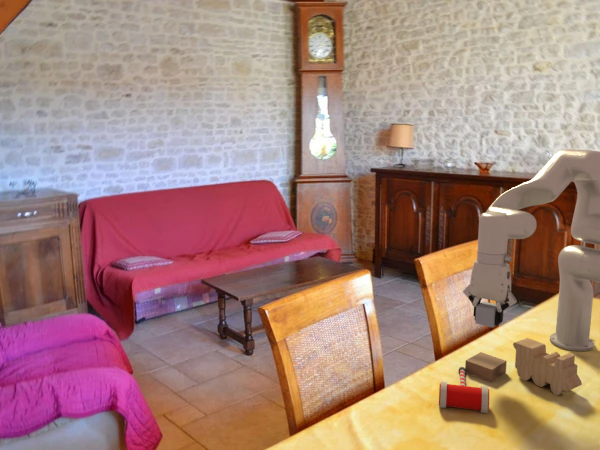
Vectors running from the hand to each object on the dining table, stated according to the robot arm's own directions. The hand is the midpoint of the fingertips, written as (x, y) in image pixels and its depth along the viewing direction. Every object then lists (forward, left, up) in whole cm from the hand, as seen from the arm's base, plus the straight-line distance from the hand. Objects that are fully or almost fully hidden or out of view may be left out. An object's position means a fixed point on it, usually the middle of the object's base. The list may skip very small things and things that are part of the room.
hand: (487, 321), depth 149 cm
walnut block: (0, 0, -16) cm, 16 cm away
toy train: (-4, +15, -16) cm, 22 cm away
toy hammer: (+16, 0, -16) cm, 23 cm away
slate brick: (0, 0, -1) cm, 1 cm away
